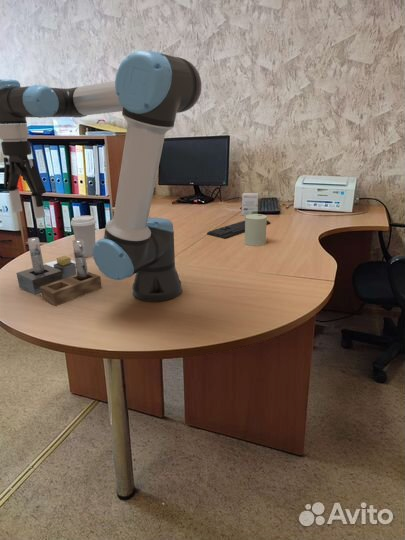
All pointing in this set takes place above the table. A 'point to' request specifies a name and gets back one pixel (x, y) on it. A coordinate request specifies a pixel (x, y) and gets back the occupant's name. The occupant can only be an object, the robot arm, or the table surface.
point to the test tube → (80, 259)
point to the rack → (69, 288)
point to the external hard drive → (55, 263)
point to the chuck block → (44, 277)
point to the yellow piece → (63, 261)
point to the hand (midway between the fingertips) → (28, 214)
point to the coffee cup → (85, 232)
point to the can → (255, 229)
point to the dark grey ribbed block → (230, 230)
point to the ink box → (249, 203)
